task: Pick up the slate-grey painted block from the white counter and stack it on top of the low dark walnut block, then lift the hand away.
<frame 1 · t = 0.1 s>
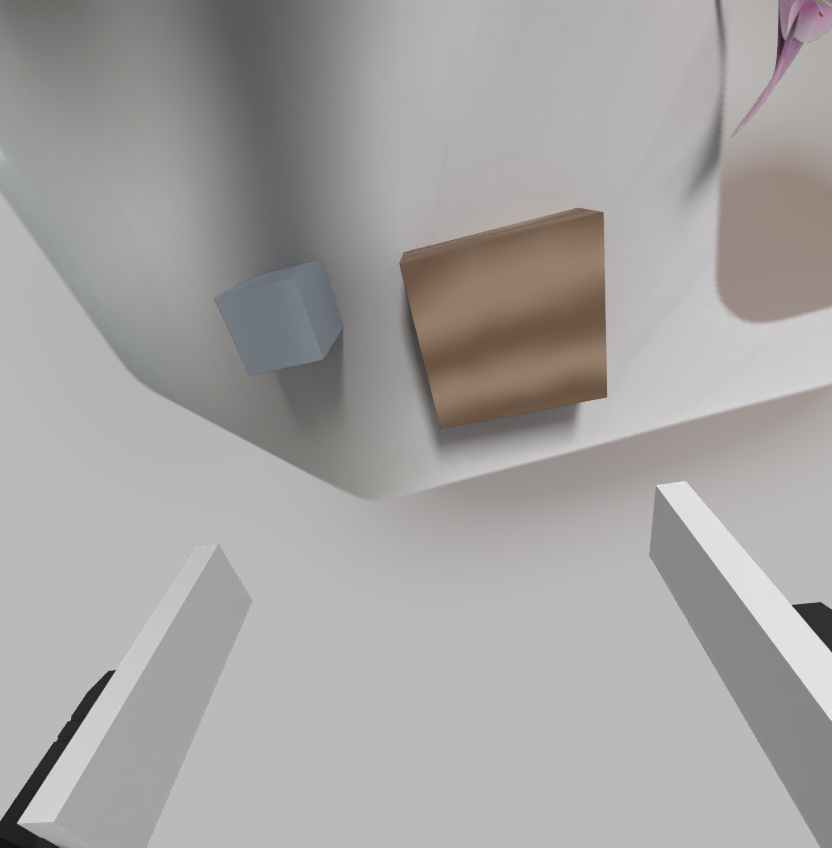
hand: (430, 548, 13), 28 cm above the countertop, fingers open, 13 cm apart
slate block: (300, 302, 37), on the countertop
walnut block: (499, 314, 37), on the countertop
lily: (760, 26, 27), on the countertop
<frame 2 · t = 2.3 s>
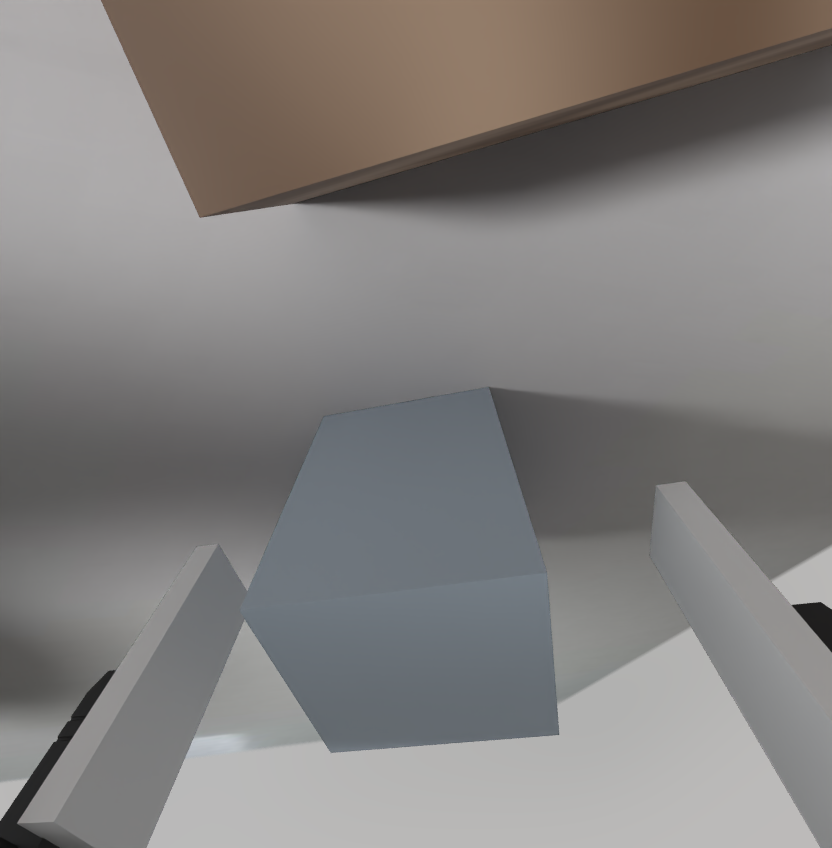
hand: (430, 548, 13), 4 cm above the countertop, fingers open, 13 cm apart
slate block: (421, 469, 16), on the countertop
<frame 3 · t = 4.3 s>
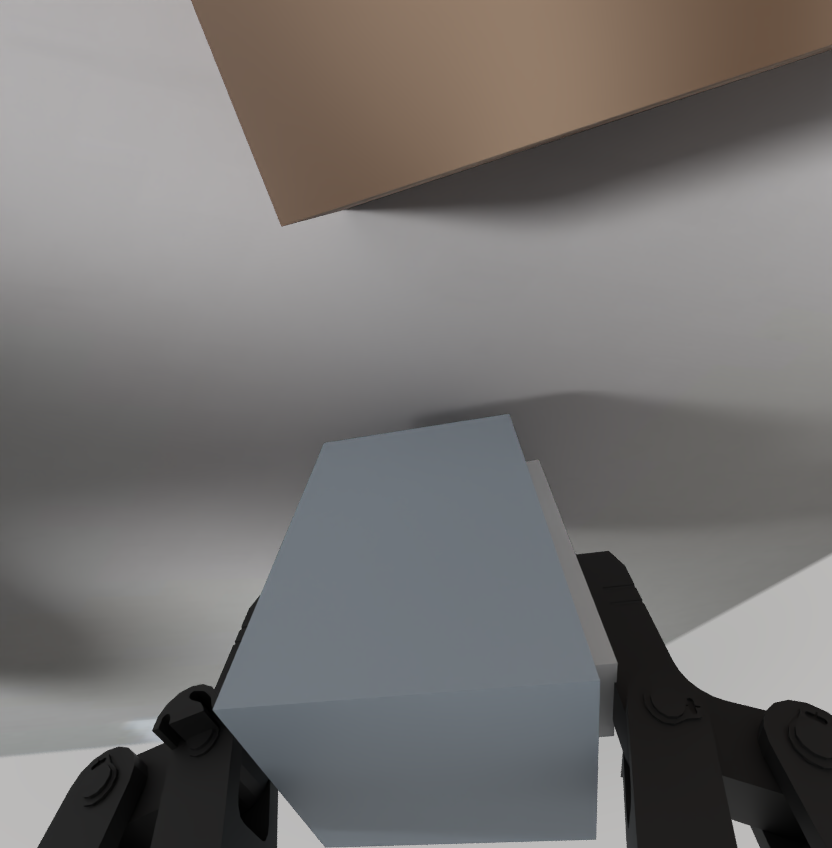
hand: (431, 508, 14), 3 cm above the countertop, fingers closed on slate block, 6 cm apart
slate block: (431, 501, 15), point 3 cm above the countertop, touching gripper
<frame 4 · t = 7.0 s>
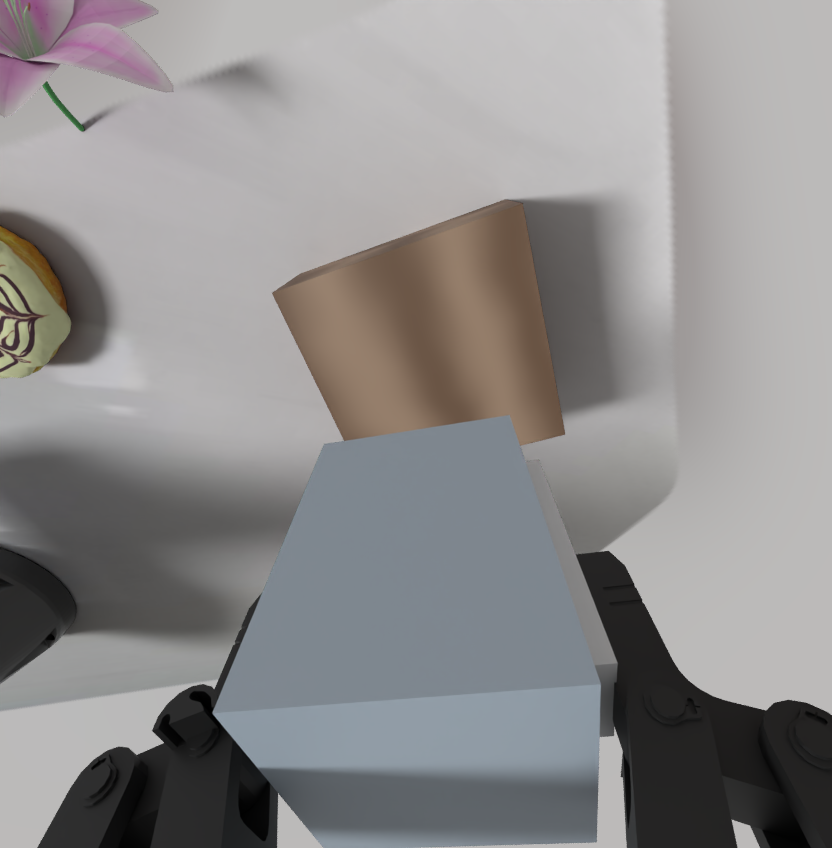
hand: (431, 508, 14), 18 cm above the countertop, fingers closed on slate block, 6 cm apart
slate block: (431, 502, 15), point 18 cm above the countertop, touching gripper
walnut block: (430, 337, 30), on the countertop
lily: (94, 47, 23), on the countertop
decorated donut: (6, 293, 30), on the countertop
when the fingers open (7 cm above the countertop, at t = 9.6 s): slate block stays where it is, resting on walnut block.
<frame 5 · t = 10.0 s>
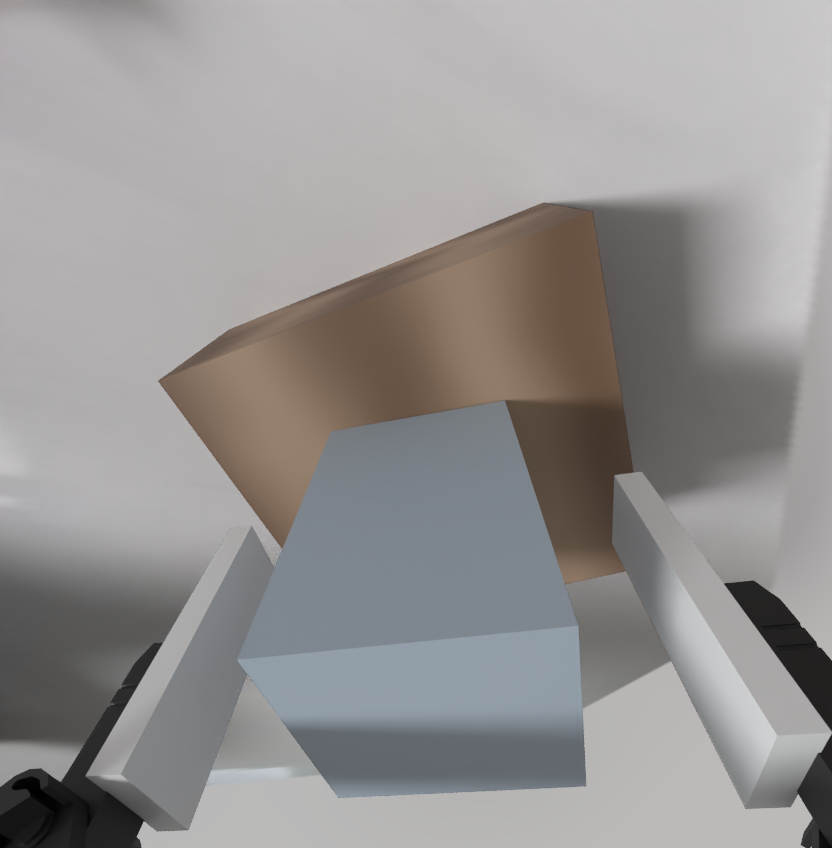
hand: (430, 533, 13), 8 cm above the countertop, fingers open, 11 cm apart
slate block: (432, 485, 16), point 6 cm above the countertop, touching walnut block
walnut block: (431, 408, 21), on the countertop, touching slate block
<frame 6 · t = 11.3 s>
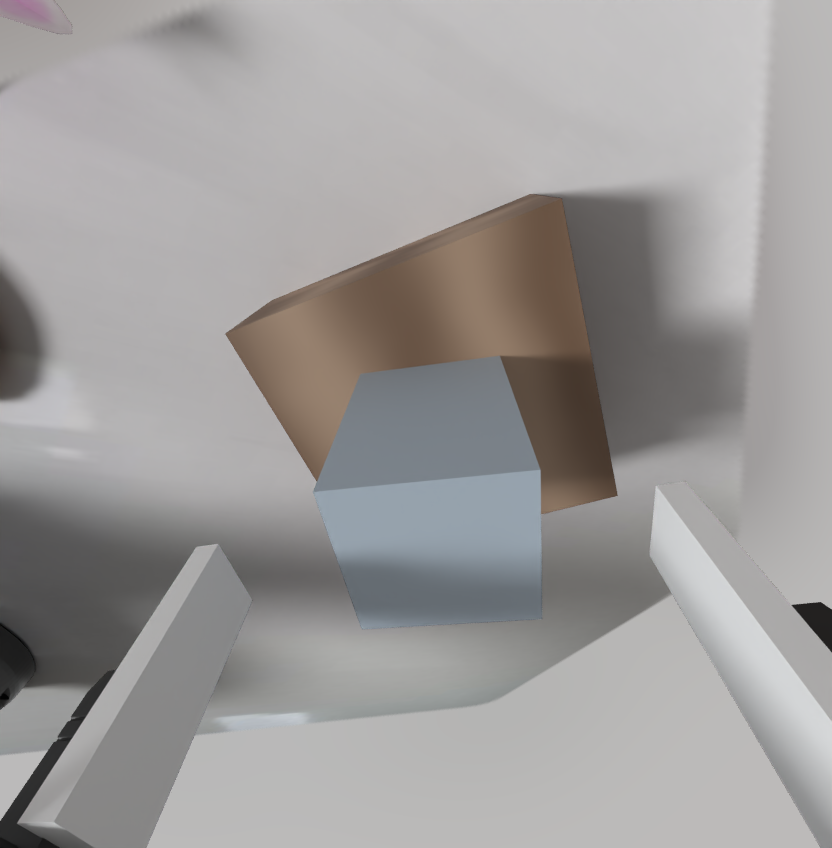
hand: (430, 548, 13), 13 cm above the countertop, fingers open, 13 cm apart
slate block: (437, 425, 19), point 6 cm above the countertop, touching walnut block
walnut block: (438, 370, 24), on the countertop, touching slate block
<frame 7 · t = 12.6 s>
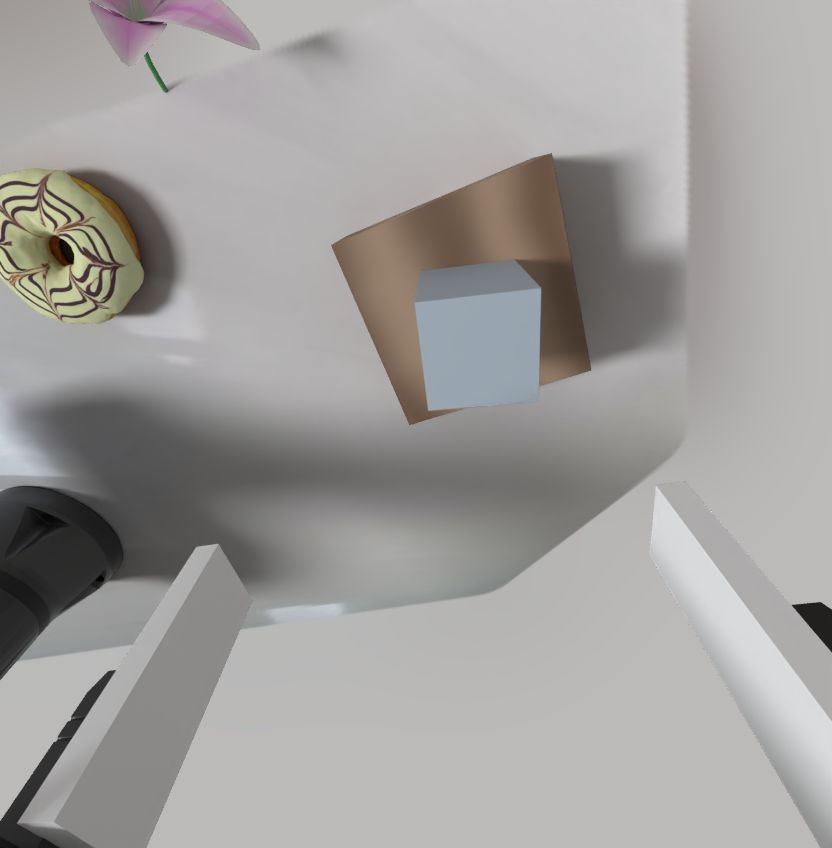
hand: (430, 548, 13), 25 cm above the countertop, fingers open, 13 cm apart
slate block: (470, 311, 28), point 6 cm above the countertop, touching walnut block
walnut block: (464, 291, 34), on the countertop, touching slate block
lily: (180, 15, 26), on the countertop
decorated donut: (86, 247, 33), on the countertop
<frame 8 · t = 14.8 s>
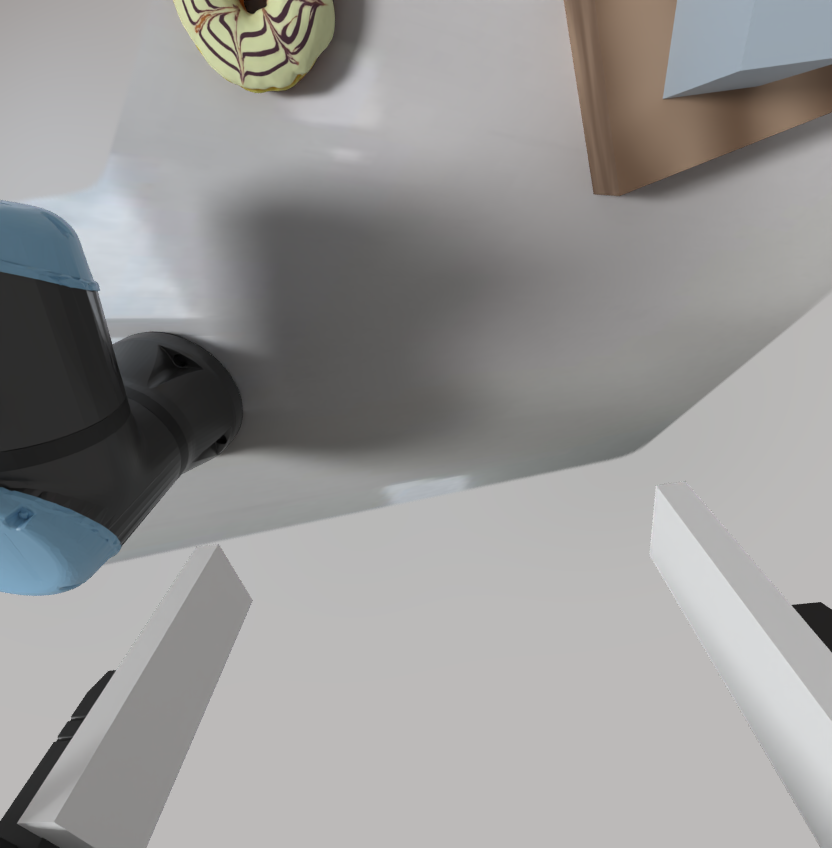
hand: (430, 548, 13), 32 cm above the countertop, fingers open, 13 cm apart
slate block: (721, 32, 26), point 6 cm above the countertop, touching walnut block
walnut block: (672, 55, 31), on the countertop, touching slate block
decorated donut: (265, 6, 31), on the countertop
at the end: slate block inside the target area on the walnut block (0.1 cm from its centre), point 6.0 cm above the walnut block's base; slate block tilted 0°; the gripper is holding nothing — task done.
